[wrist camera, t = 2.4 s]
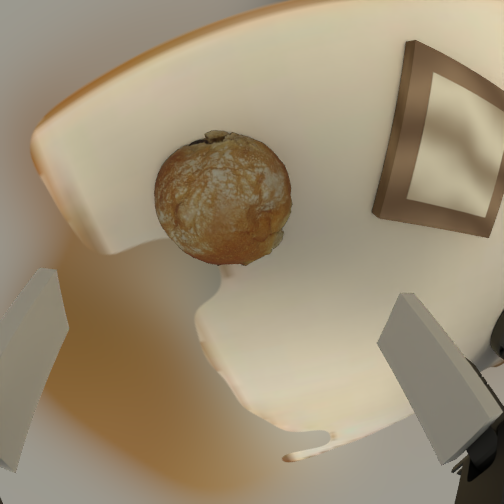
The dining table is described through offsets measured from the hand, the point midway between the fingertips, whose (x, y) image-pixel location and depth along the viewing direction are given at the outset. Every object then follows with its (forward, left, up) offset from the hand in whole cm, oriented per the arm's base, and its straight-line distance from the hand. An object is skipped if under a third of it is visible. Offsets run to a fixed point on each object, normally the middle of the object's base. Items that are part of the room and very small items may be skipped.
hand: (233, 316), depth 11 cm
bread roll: (0, 0, -16) cm, 16 cm away
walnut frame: (+8, -21, -15) cm, 27 cm away
